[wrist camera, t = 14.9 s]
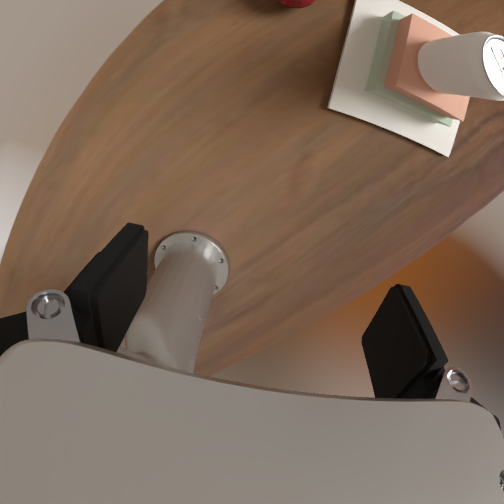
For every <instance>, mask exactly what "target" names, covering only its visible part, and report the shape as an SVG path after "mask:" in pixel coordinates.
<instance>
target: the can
mask: <svg viewBox="0 0 504 504" xmlns="http://www.w3.org/2000/svg"><path fill="white" fill-rule="evenodd" d="M418 67H419V71H420V73H421V75H422V77H423V79H424V80H425V82H426V83H427V84H428V85H429V86H430V87H431V88H432V89H434V90H436V91H438V92H440V93H445V94H453V95H461V96H469V97H477V98H484V99H490V100H497V101H503V100H504V37H503V36H500V35H494V34H492V33H489V32H474V33H467V34H461V35H456V36H451V37H446V38H442V39H437V40H433V41H430V42H427V43H425V44H424V45H423V46H422V47H421V48H420V50H419V53H418Z"/></svg>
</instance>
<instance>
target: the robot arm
mask: <svg viewBox="0 0 504 504" xmlns="http://www.w3.org/2000/svg"><path fill="white" fill-rule="evenodd" d="M195 237H196V238H195ZM147 252H148V231H146V230H144V226H142V225H138V224H134V223H127V224H126V225H125V226H124V227H123V228H122V230H121V231H120V232H119V233H118V234H117V235H116V236H115V237H114V238H113V239H112V240H111V241H110V242H109V243H108V244H107V246H106V247H105V248H104V249H103V250H102V251H101V252H99V253H97V254H96V255H95V256H94V257H93V259H92V260H91V261H90V262H89V263H88V264H87V265H86V266H85V268H84V269H83V270H82V271H81V272H80V273H79V275H78V276H77V277H76V278H75V279H74V280H73V282H72V283H71V284H70V285H69V286H68V288H67V289H66V290H65V291H64V292H62V291H59V290H55V289H46V290H43V291H39V292H38V293H36V294H34V295H33V296H32V297H31V298H30V299H29V301H28V303H27V308H26V312H23V313H19V314H16V315H12V316H8V317H4V318H0V504H504V436H503V435H502V433H501V427H500V422H499V420H498V418H497V417H496V416H495V415H493V414H492V413H491V412H489V411H488V410H487V409H486V408H484V407H483V406H482V405H480V404H479V403H478V402H477V401H476V400H474V399H473V398H472V397H471V394H472V384H471V381H470V379H469V377H468V376H467V375H466V374H465V373H464V372H463V371H462V370H460V369H458V368H456V367H448V368H447V369H446V370H445V369H444V365H445V364H446V363H447V362H448V359H447V357H446V354H445V352H444V350H443V349H442V346H441V344H440V342H439V340H438V338H437V336H436V334H435V332H434V330H433V328H432V326H431V324H430V322H429V320H428V318H427V316H426V314H425V312H424V311H423V309H422V307H421V305H420V303H419V301H418V300H417V298H416V296H415V294H414V292H413V291H412V289H411V288H410V287H409V286H405V285H400V284H396V285H395V286H394V287H391V288H390V290H389V292H388V293H387V295H386V297H385V298H384V300H383V302H382V304H381V306H380V307H379V309H378V311H377V312H376V314H375V316H374V318H373V319H372V321H371V323H370V324H369V326H368V328H367V329H366V331H365V332H364V334H363V336H362V346H363V350H364V354H365V358H366V361H367V365H368V369H369V373H370V377H371V382H372V386H373V390H374V394H375V398H368V397H350V396H338V395H326V394H315V393H307V392H298V391H290V390H283V389H275V388H269V387H263V386H257V385H250V384H245V383H240V382H234V381H229V380H224V379H219V378H214V377H209V376H205V375H200V374H196V373H193V371H194V365H195V360H196V356H197V352H198V348H199V344H200V340H201V336H202V333H203V329H204V325H205V321H206V318H207V314H208V310H209V307H210V303H211V299H212V296H213V295H214V294H215V293H217V292H218V291H219V290H220V289H221V288H222V287H223V286H224V284H225V283H226V280H227V277H228V273H229V264H228V259H227V257H226V255H225V252H224V251H223V250H222V248H221V247H220V246H219V245H218V244H217V243H216V242H215V241H214V240H212V239H211V238H209V237H208V236H206V235H203V234H201V233H197V232H193V231H181V232H176V233H173V234H171V235H169V236H167V237H166V238H165V239H164V240H163V241H162V242H161V243H160V245H159V246H158V248H157V250H156V253H155V256H154V264H155V269H156V270H155V271H154V273H153V275H152V276H151V278H150V280H149V282H148V283H147ZM124 336H125V346H126V349H124V348H123V347H121V346H120V344H121V342H122V340H123V338H124Z"/></svg>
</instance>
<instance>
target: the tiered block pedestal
mask: <svg viewBox="0 0 504 504" xmlns="http://www.w3.org/2000/svg"><path fill="white" fill-rule="evenodd" d="M456 35H459V34H458V33H456V32H455V31H453V30H451V29H450V28H448V27H447V26H445V25H443V24H442V23H440V22H438V21H437V20H435V19H433V18H431V17H429V16H428V15H426V14H424V13H422V12H420V11H418V10H416V9H415V8H413V7H411V6H409V5H407V4H404V3H402V2H400V1H398V0H355V2H354V6H353V10H352V14H351V18H350V22H349V26H348V30H347V34H346V38H345V42H344V46H343V50H342V54H341V58H340V62H339V66H338V69H337V73H336V77H335V81H334V84H333V88H332V92H331V95H330V99H329V103H328V106H327V108H329V109H333V110H336V111H339V112H342V113H345V114H348V115H351V116H353V117H356V118H359V119H362V120H365V121H367V122H370V123H373V124H375V125H378V126H380V127H383V128H385V129H388V130H390V131H393V132H395V133H397V134H400V135H402V136H404V137H407V138H409V139H411V140H414V141H416V142H418V143H420V144H422V145H424V146H427V147H429V148H431V149H433V150H435V151H437V152H439V153H441V154H443V155H445V156H447V157H449V155H450V152H451V149H452V146H453V142H454V139H455V136H456V133H457V129H458V126H459V123H460V121H464V117H465V114H466V110H467V106H468V102H469V98H470V97H469V96H461V95H453V94H445V93H440V92H438V91H436V90H434V89H432V88H431V87H430V86H429V85H428V84H427V83H426V82H425V80H424V79H423V77H422V75H421V73H420V71H419V67H418V53H419V50H420V48H421V47H422V46H423V45H424V44H425V43H427V42H430V41H433V40H437V39H442V38H446V37H451V36H456Z"/></svg>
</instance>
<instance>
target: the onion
mask: <svg viewBox="0 0 504 504" xmlns="http://www.w3.org/2000/svg"><path fill="white" fill-rule="evenodd" d="M278 1H279V2H280V3H281V4H283V5H285V6H288V7H290V8H303V7H307V6H309V5H311V4H312V3H313V2H314V1H316V0H278Z"/></svg>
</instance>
